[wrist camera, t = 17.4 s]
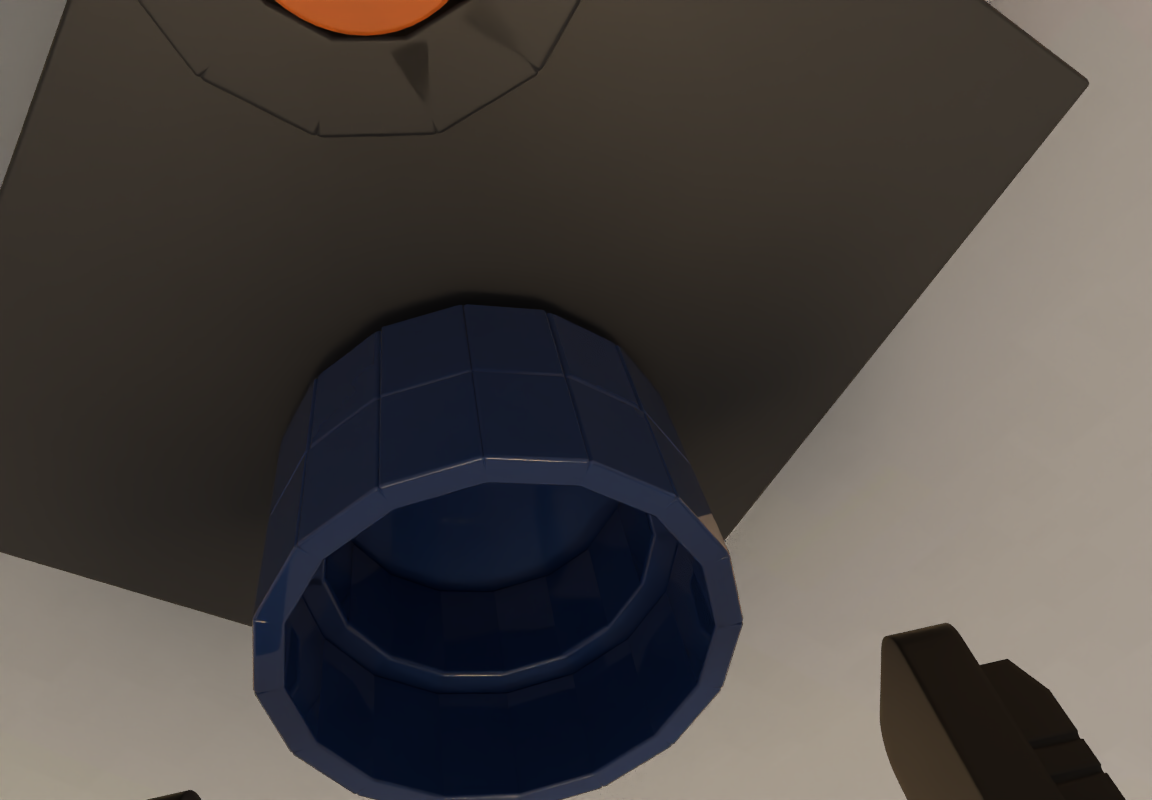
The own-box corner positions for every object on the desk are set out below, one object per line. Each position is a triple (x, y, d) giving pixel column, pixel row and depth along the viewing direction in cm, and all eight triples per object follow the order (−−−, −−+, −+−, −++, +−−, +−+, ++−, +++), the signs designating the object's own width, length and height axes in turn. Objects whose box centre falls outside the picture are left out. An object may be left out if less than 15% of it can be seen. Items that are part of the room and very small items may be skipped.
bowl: (391, 220, 15) (392, 376, 11) (736, 387, 17) (834, 562, 13) (221, 536, 17) (174, 753, 13) (545, 642, 20) (583, 851, 16)
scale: (252, -537, 11) (214, -624, 9) (1043, 59, 16) (1160, 112, 14) (-100, 462, 17) (-183, 582, 15) (568, 674, 22) (591, 790, 20)
